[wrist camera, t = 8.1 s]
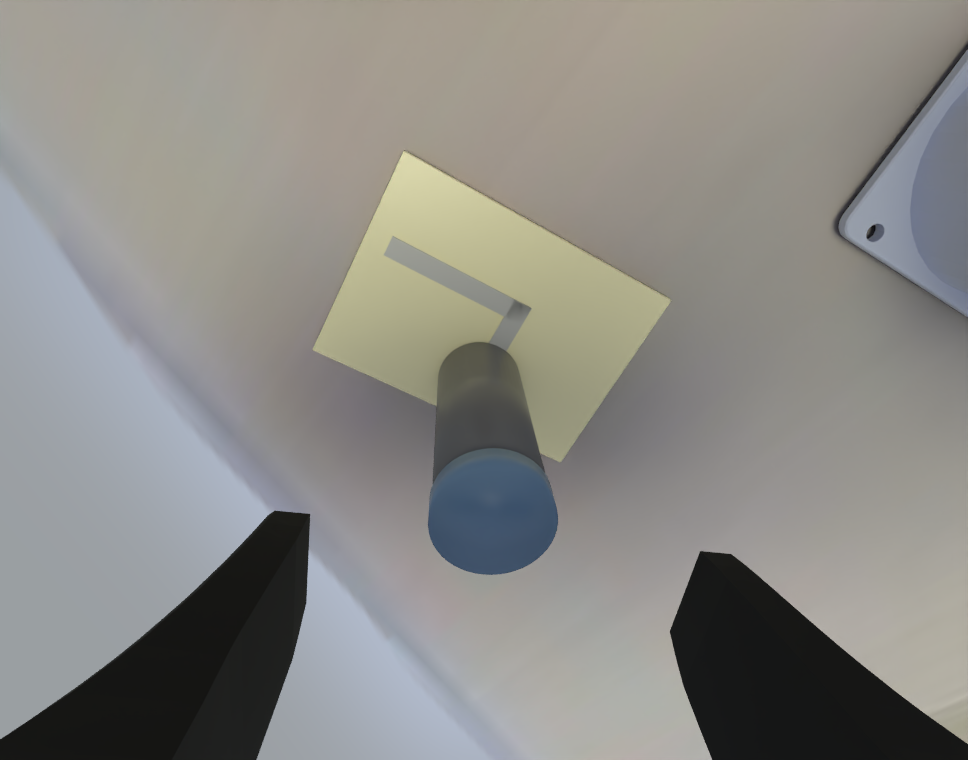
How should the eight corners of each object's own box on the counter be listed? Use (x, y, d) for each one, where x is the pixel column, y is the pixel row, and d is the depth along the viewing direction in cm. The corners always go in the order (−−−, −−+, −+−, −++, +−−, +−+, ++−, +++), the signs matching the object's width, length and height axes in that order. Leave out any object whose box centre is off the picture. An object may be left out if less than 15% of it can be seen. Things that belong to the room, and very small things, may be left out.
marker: (528, 346, 19) (570, 476, 12) (513, 422, 20) (544, 579, 13) (442, 335, 18) (436, 462, 12) (431, 413, 19) (421, 568, 13)
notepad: (668, 297, 19) (672, 301, 18) (559, 458, 21) (561, 464, 20) (404, 150, 16) (403, 151, 16) (314, 346, 19) (311, 351, 18)
